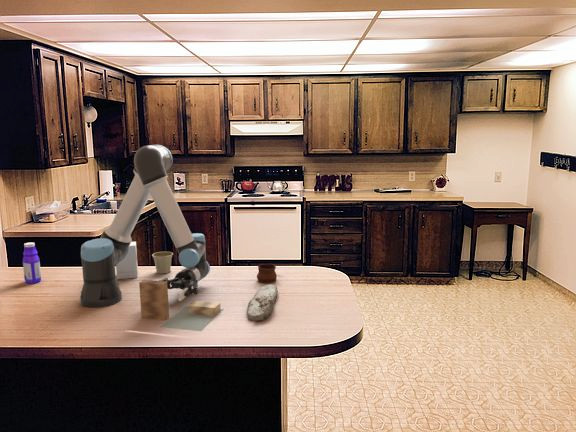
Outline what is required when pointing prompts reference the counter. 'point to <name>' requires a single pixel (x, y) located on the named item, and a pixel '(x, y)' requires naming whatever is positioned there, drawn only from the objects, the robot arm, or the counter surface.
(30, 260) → the bottle
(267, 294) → the elongated rock
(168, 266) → the flower pot
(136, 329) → the counter surface
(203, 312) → the tan wooden block
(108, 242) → the robot arm
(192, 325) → the mat
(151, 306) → the slab
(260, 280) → the ceramic pot
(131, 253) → the supplement box
